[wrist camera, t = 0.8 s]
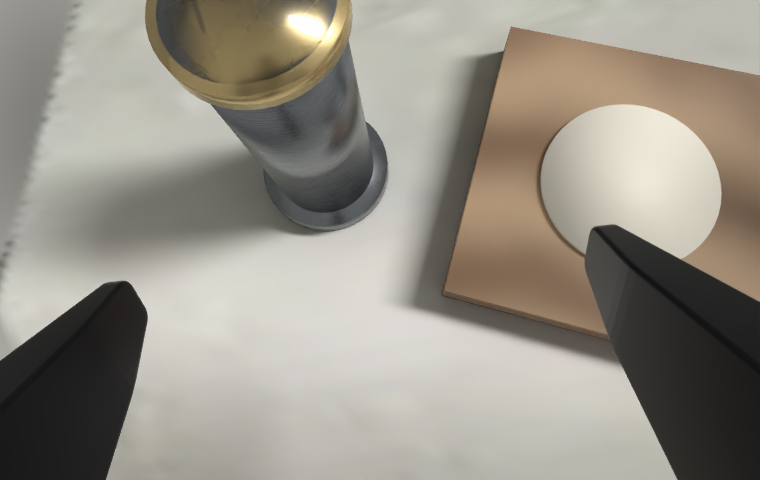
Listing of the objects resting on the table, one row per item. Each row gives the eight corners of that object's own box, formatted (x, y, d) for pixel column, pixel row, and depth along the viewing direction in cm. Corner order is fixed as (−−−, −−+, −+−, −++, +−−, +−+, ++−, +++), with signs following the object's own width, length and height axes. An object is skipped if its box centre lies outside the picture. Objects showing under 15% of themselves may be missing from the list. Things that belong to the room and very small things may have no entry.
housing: (359, 249, 25) (303, 143, 12) (249, 205, 26) (88, 63, 13) (406, 140, 26) (400, -61, 13) (299, 102, 27) (197, -121, 14)
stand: (739, 375, 22) (774, 378, 20) (441, 295, 24) (444, 289, 22) (772, 105, 25) (806, 81, 23) (503, 50, 26) (511, 24, 24)
